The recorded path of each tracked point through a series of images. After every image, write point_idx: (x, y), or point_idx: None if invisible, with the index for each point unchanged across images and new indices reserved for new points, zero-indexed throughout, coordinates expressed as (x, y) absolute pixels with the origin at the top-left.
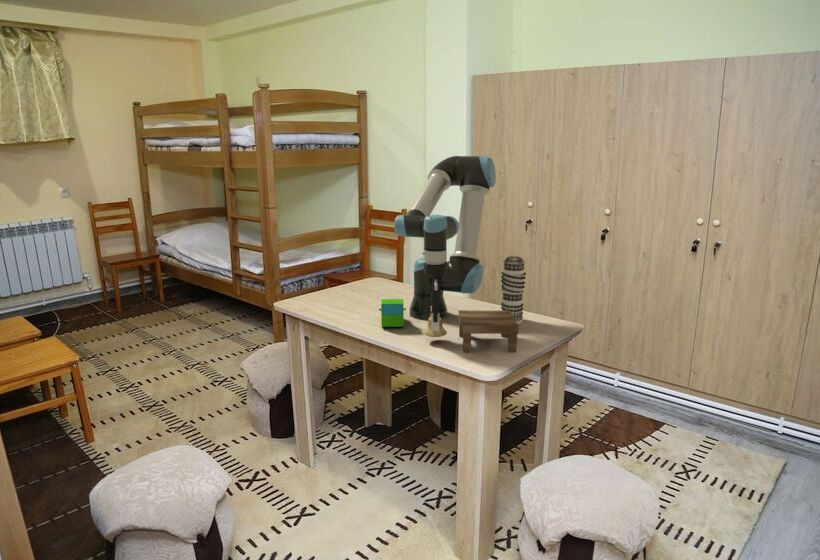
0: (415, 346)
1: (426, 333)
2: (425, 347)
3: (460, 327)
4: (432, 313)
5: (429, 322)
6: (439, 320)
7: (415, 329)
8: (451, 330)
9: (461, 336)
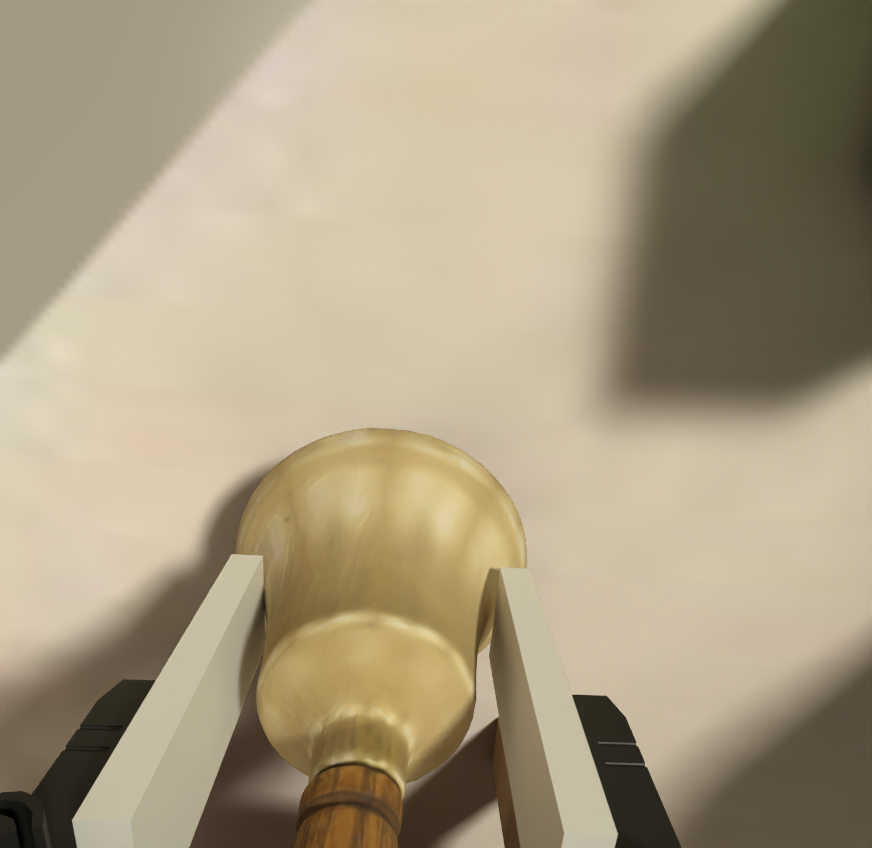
0: (239, 302)
1: (290, 474)
2: (213, 408)
3: (513, 807)
4: (85, 821)
5: (315, 594)
6: (283, 757)
7: (799, 344)
8: (679, 673)
9: (497, 733)
